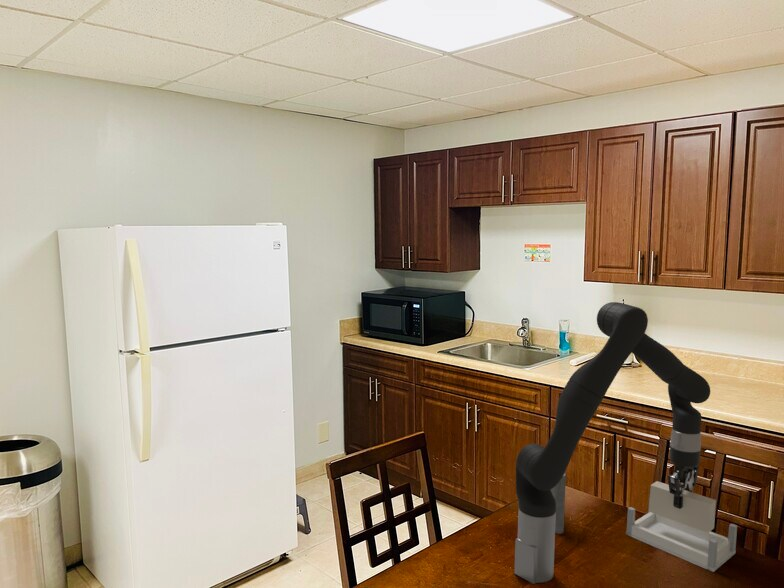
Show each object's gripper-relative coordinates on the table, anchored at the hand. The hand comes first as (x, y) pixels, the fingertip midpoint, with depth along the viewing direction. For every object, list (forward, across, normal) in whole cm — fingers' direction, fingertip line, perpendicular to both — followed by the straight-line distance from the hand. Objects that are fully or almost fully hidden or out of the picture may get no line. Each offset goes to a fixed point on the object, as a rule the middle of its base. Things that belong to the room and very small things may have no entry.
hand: (681, 504), depth 165 cm
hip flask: (+12, -17, +31) cm, 37 cm away
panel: (+4, 0, 0) cm, 4 cm away
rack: (+12, 0, 0) cm, 12 cm away
